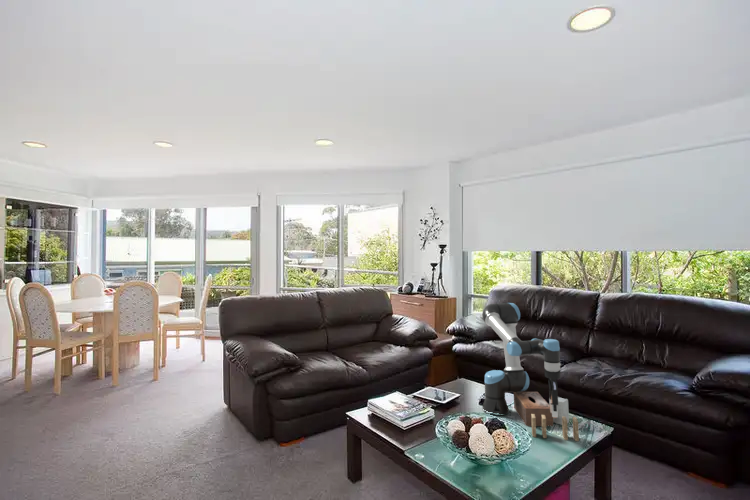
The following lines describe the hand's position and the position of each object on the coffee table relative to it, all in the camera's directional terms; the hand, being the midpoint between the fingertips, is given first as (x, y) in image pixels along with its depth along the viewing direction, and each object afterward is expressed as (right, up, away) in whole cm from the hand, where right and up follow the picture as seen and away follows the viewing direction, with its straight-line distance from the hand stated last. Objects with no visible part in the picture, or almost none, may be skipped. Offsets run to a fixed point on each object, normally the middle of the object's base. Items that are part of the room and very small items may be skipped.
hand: (554, 414), depth 204 cm
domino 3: (+5, -11, -1) cm, 13 cm away
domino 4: (+10, -11, -3) cm, 15 cm away
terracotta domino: (0, -1, 0) cm, 1 cm away
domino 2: (-4, -12, +1) cm, 13 cm away
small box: (+11, -12, +17) cm, 23 cm away
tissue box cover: (-1, -12, +26) cm, 29 cm away
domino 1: (-9, -12, +3) cm, 15 cm away
